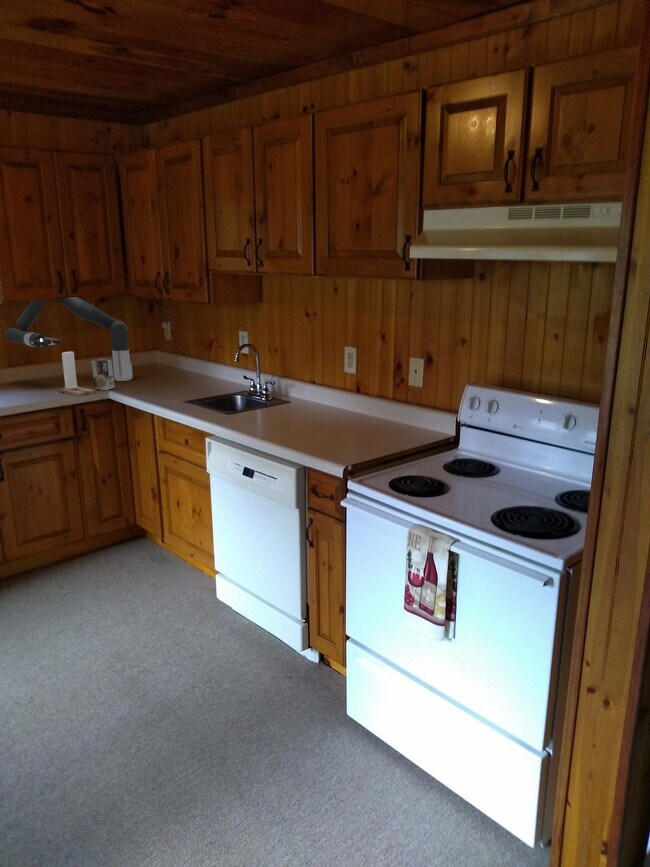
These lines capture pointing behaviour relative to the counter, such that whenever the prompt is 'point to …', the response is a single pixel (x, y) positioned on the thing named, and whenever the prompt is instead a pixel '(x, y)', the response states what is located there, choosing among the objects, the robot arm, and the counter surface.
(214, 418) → the counter surface
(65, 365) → the slider tab
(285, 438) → the counter surface
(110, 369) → the coffee box
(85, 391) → the slider board
